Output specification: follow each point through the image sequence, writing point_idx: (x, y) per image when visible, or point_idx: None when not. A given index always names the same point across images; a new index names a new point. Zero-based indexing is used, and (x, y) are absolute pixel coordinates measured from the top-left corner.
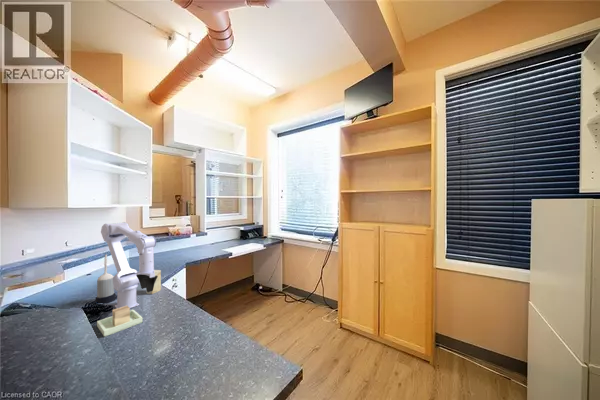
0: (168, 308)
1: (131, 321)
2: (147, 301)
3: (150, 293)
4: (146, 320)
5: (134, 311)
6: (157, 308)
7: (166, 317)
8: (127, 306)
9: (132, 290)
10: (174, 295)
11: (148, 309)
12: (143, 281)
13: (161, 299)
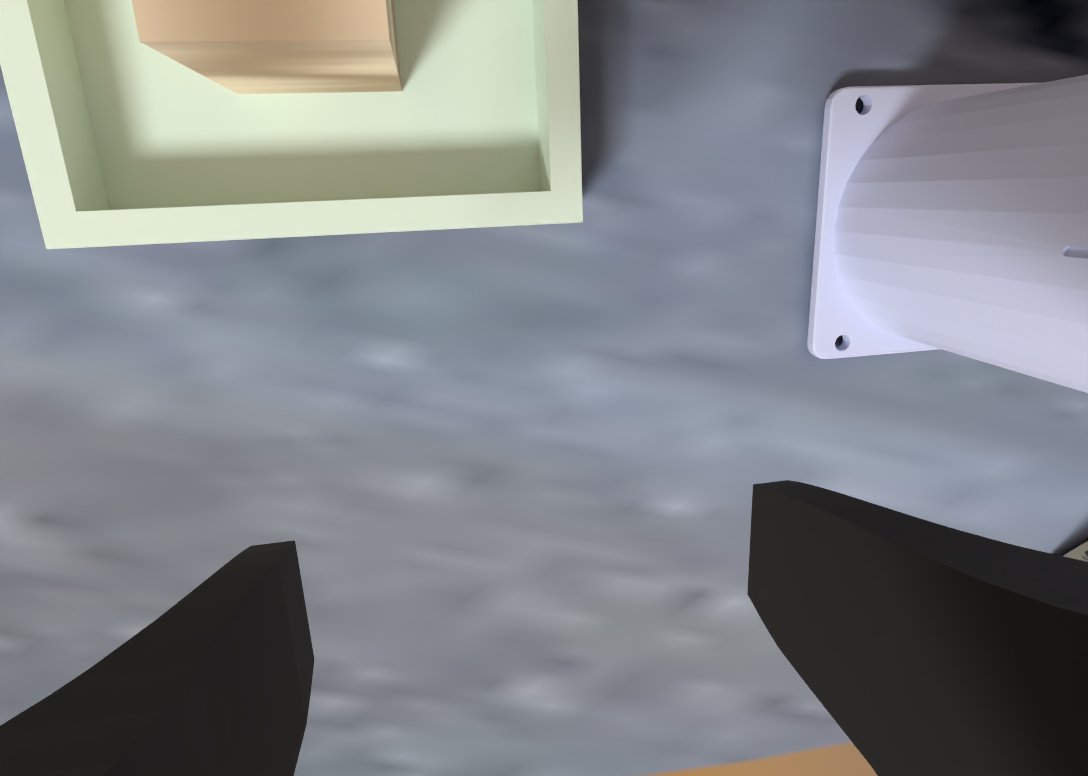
0: (336, 618)
1: (1, 61)
2: (853, 466)
3: (1076, 552)
4: (133, 304)
5: (462, 214)
6: (471, 512)
7: (8, 535)
8: (303, 30)
9: (1075, 315)
10: (733, 757)
11: (545, 415)
12: (905, 658)
13: (750, 613)
